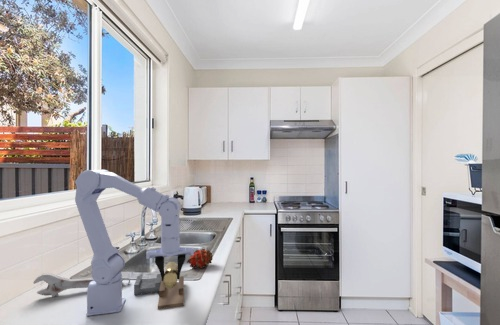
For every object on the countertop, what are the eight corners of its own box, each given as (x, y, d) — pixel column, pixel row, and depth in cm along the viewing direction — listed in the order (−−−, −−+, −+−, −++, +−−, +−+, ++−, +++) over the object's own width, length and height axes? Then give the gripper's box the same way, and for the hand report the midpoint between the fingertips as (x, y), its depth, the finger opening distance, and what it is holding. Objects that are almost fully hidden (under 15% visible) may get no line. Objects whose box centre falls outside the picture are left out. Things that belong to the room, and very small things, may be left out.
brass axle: (177, 287, 83) (176, 274, 83) (163, 289, 82) (162, 276, 82) (178, 272, 94) (177, 260, 94) (166, 274, 94) (165, 262, 93)
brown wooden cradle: (157, 309, 85) (157, 299, 85) (161, 286, 101) (161, 278, 101) (183, 305, 87) (183, 296, 87) (183, 284, 103) (183, 276, 103)
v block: (134, 295, 94) (134, 285, 94) (137, 285, 102) (137, 275, 102) (159, 292, 96) (159, 282, 96) (161, 282, 104) (161, 273, 104)
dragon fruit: (215, 268, 122) (189, 278, 116) (208, 253, 127) (183, 261, 122) (217, 257, 117) (190, 266, 111) (210, 241, 122) (183, 249, 117)
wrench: (128, 293, 102) (31, 299, 91) (128, 290, 104) (32, 297, 93) (131, 271, 103) (34, 275, 91) (131, 269, 104) (36, 273, 93)
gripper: (144, 241, 82) (145, 287, 82) (194, 238, 85) (194, 281, 85) (147, 235, 88) (147, 277, 88) (193, 232, 92) (193, 272, 92)
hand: (170, 278), depth 87 cm, fingers closed on brass axle, 4 cm apart
